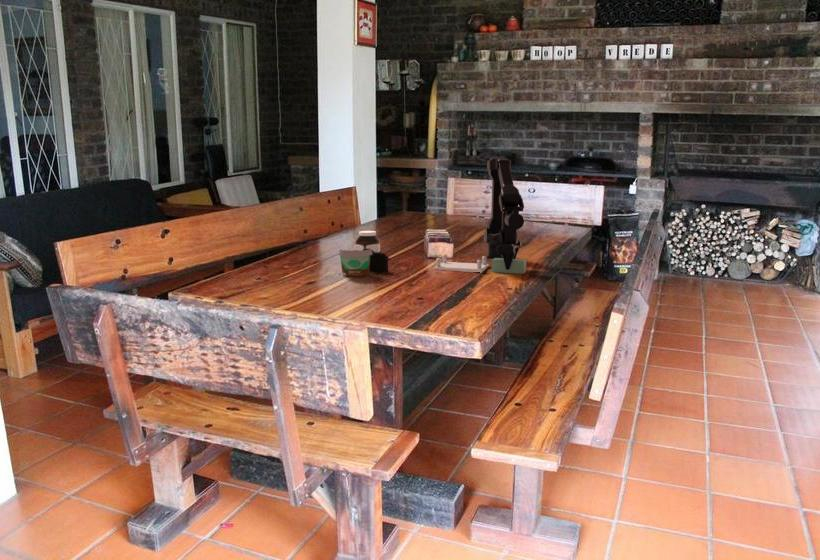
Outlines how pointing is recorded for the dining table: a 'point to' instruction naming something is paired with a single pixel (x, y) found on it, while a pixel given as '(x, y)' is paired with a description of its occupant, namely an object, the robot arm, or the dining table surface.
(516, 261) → the green board
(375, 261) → the film camera
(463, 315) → the dining table surface
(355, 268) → the food container
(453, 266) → the plate
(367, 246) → the spread jar
